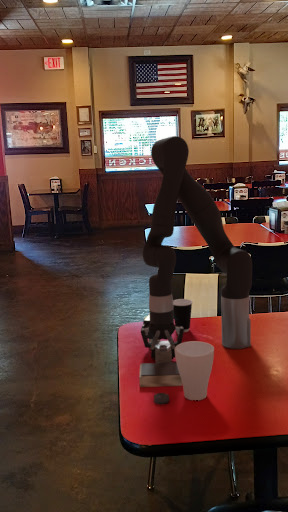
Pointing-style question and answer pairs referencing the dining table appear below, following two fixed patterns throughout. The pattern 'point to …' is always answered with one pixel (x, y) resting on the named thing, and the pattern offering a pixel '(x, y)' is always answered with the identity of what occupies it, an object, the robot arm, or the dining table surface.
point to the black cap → (161, 398)
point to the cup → (194, 367)
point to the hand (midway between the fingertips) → (163, 358)
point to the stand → (159, 374)
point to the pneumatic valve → (146, 325)
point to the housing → (163, 352)
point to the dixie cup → (182, 313)
